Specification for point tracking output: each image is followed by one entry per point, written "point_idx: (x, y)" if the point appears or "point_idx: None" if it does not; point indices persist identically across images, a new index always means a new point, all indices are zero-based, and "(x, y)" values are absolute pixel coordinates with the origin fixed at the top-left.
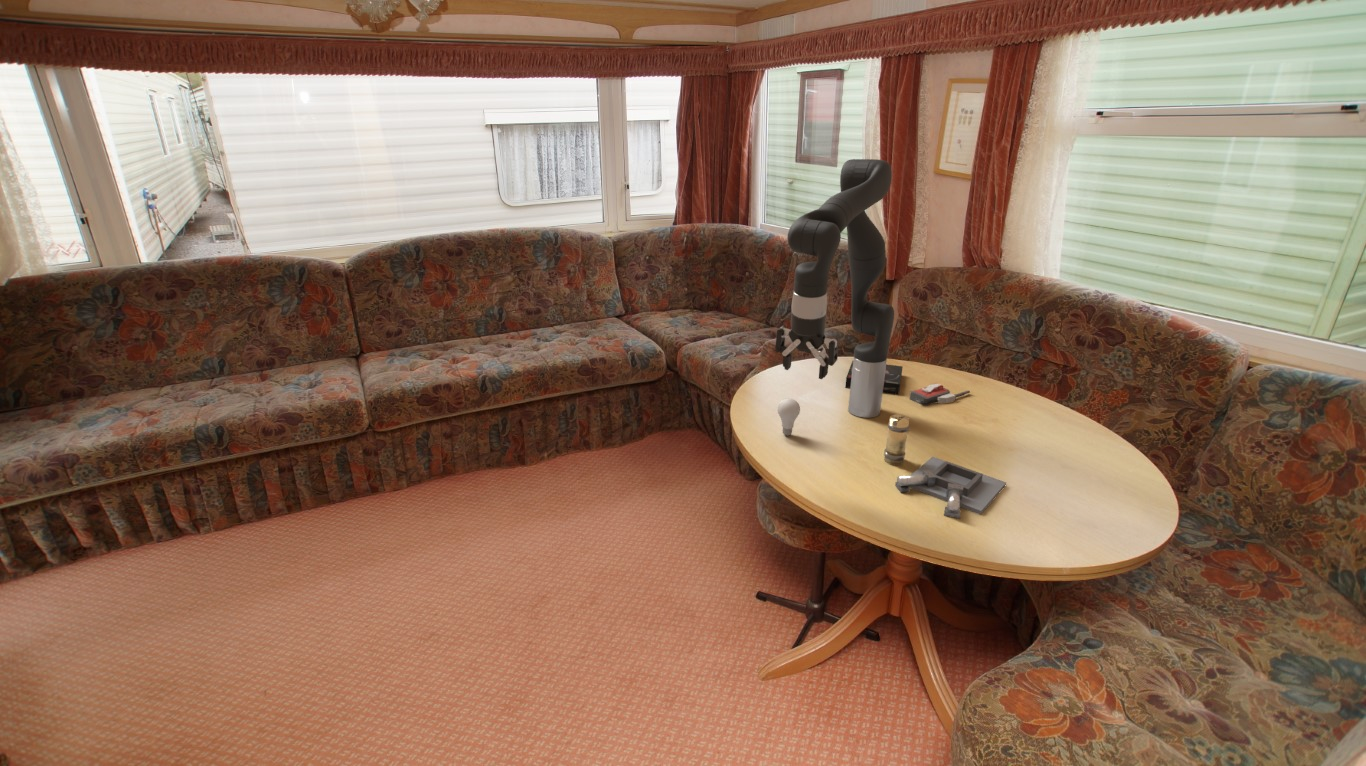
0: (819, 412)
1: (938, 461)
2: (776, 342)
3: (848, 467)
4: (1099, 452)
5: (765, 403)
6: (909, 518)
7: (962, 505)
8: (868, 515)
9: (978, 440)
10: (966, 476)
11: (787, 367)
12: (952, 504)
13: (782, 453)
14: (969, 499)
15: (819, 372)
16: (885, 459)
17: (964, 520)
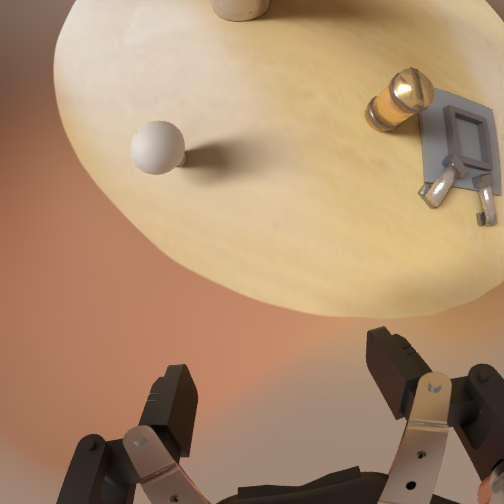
0: (179, 49)
1: None
2: None
3: (338, 187)
4: (481, 9)
5: (90, 98)
6: (455, 262)
7: None
8: (417, 296)
9: (413, 11)
10: (469, 121)
11: (195, 404)
12: (494, 224)
13: (214, 226)
14: None
15: (382, 390)
16: (373, 126)
17: None
